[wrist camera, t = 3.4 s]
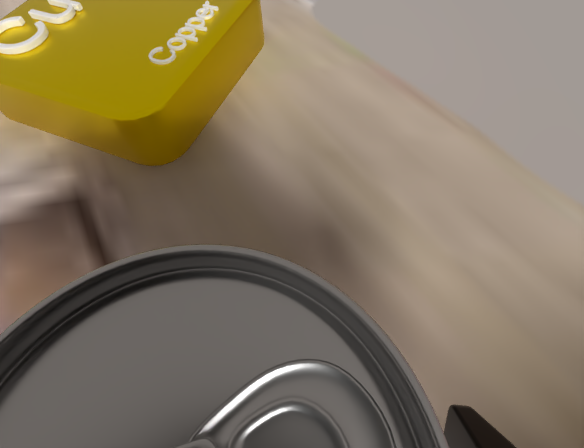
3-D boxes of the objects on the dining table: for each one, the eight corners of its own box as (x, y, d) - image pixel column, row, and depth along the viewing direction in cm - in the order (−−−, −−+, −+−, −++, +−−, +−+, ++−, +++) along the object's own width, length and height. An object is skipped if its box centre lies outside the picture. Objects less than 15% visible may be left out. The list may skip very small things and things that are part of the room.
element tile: (172, 179, 21) (138, 119, 17) (-7, 116, 24) (-73, 54, 20) (274, 38, 27) (268, -30, 23) (122, 4, 31) (93, -61, 26)
